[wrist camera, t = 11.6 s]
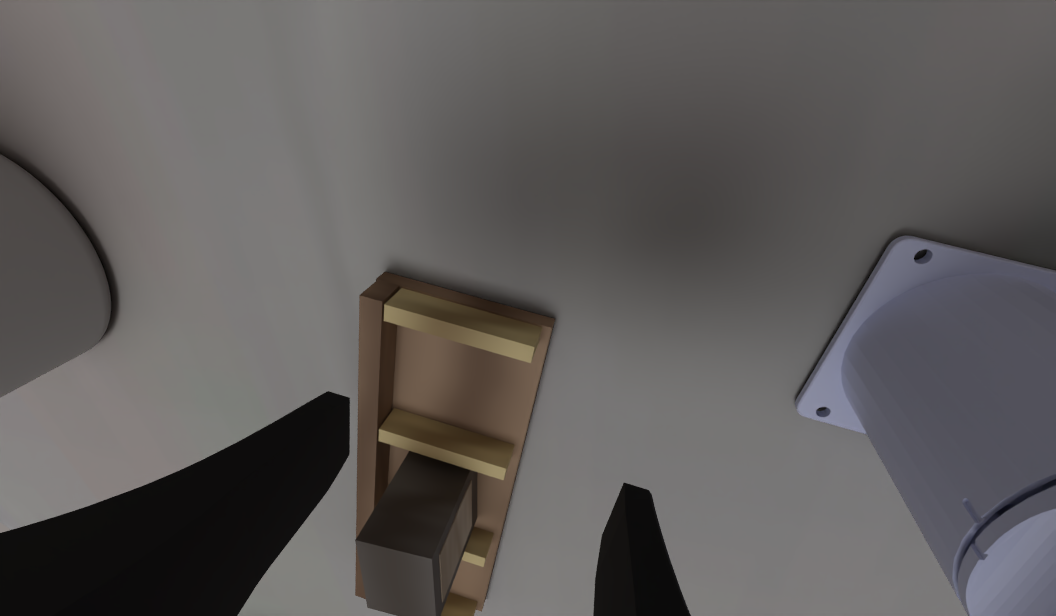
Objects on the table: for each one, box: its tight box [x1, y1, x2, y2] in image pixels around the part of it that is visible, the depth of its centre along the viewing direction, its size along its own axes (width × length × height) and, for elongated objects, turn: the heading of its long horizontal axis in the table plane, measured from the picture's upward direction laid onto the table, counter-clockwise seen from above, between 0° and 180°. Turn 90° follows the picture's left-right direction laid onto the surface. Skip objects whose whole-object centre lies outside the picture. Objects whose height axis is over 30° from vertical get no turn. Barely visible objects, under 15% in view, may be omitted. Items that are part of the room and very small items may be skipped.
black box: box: [355, 451, 477, 616], centre depth 24 cm, size 4×5×6 cm
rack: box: [355, 272, 555, 616], centre depth 26 cm, size 8×22×2 cm, turn 169°
